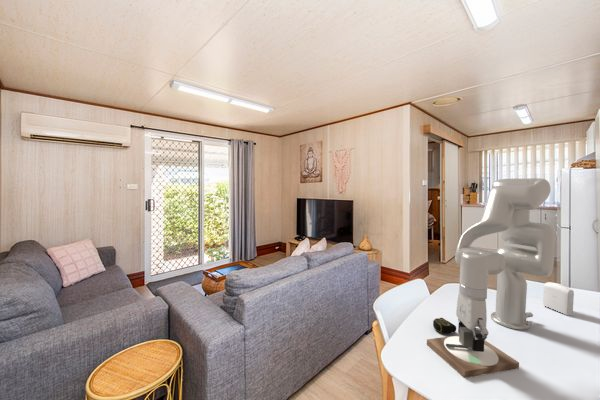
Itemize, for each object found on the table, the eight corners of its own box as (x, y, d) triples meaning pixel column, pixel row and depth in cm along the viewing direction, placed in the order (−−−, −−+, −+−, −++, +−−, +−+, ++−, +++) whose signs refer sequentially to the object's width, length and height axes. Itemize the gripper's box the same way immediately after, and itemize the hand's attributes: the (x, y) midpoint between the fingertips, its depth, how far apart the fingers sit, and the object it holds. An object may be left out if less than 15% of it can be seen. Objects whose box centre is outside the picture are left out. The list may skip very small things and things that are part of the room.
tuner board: (473, 338, 95) (474, 333, 95) (518, 368, 79) (519, 362, 79) (426, 344, 91) (426, 339, 91) (464, 377, 75) (464, 371, 75)
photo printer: (540, 305, 122) (542, 280, 121) (547, 305, 123) (549, 279, 122) (567, 316, 112) (569, 289, 111) (574, 315, 113) (576, 288, 112)
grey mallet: (476, 346, 86) (477, 328, 86) (481, 352, 83) (482, 333, 83) (444, 343, 87) (445, 325, 87) (448, 349, 84) (448, 330, 84)
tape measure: (457, 334, 98) (457, 324, 98) (443, 337, 96) (443, 327, 95) (442, 325, 104) (442, 316, 104) (428, 327, 102) (429, 318, 102)
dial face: (469, 334, 94) (469, 333, 94) (511, 362, 79) (511, 361, 79) (434, 339, 91) (434, 338, 91) (470, 369, 76) (470, 367, 76)
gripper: (449, 280, 93) (446, 326, 94) (474, 301, 76) (471, 358, 77) (471, 281, 92) (469, 328, 93) (502, 303, 75) (499, 361, 76)
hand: (470, 341), depth 85 cm, fingers open, 8 cm apart
